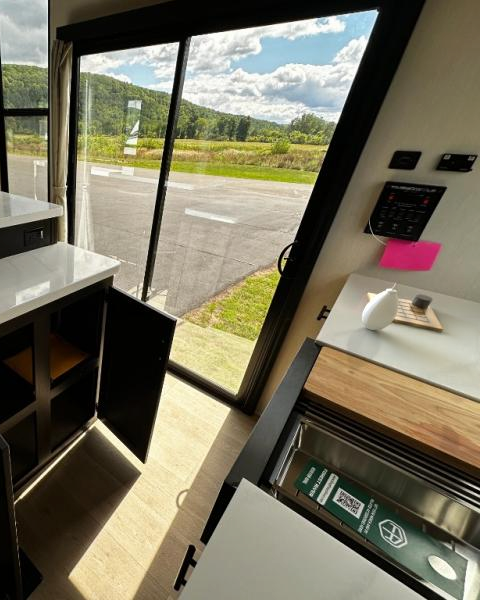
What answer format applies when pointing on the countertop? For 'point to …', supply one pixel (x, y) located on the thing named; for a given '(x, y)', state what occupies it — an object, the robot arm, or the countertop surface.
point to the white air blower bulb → (381, 310)
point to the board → (414, 315)
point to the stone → (422, 301)
